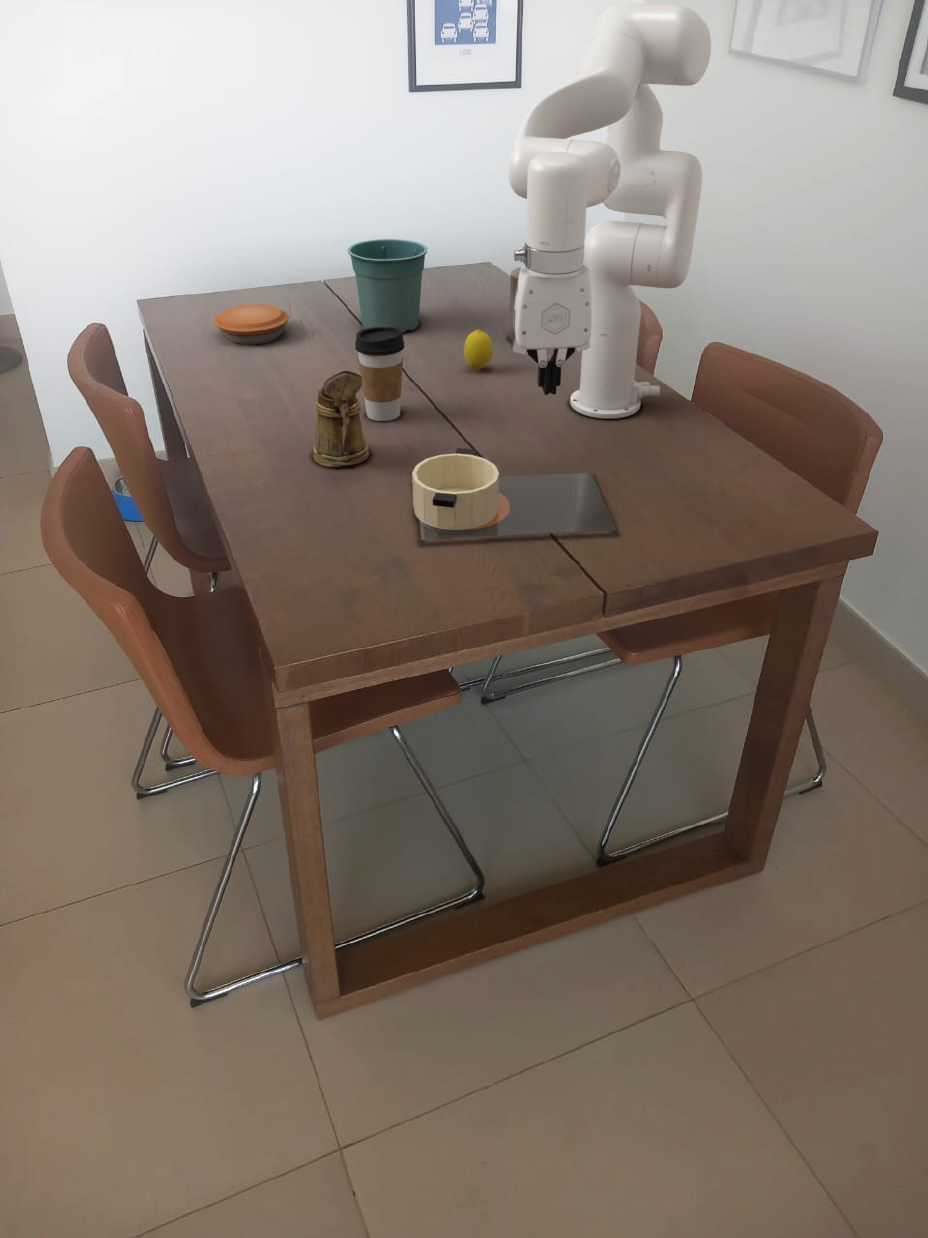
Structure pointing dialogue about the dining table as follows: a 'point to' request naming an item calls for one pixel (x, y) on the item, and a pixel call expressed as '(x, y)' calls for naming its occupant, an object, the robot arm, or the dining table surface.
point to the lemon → (478, 349)
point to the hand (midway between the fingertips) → (548, 390)
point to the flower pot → (389, 281)
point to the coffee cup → (381, 370)
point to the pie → (252, 323)
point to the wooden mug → (340, 422)
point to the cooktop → (539, 508)
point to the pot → (456, 490)
